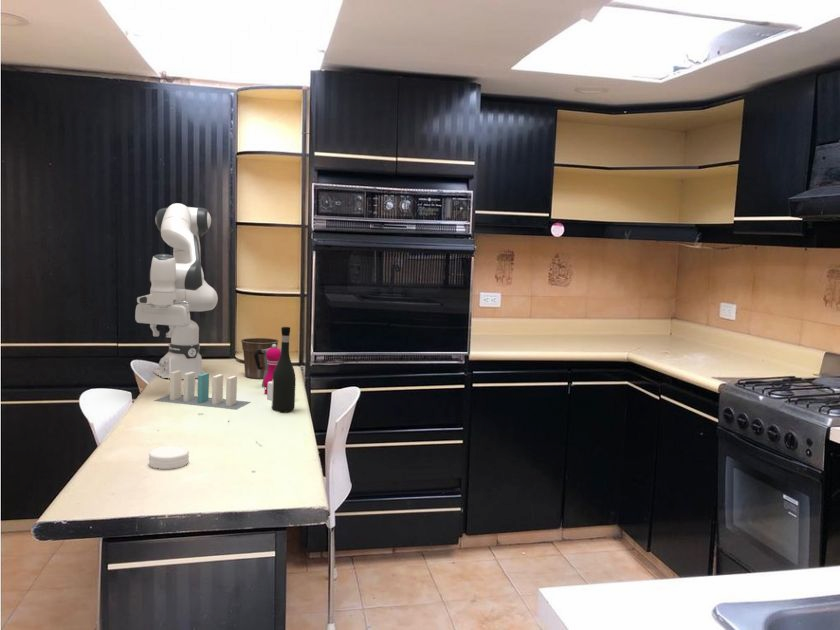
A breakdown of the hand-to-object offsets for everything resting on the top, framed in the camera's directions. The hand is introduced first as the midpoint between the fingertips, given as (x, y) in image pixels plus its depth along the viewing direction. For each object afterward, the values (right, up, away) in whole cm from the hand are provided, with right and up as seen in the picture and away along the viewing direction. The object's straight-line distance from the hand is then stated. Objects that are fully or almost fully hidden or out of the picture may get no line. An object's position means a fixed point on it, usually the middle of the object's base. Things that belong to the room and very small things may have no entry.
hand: (162, 336), depth 244 cm
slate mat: (+15, -24, -1) cm, 28 cm away
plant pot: (+23, -19, +50) cm, 58 cm away
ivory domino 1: (+4, -23, +1) cm, 23 cm away
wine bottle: (+45, -26, -5) cm, 52 cm away
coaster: (+27, -32, -66) cm, 78 cm away
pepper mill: (+36, -23, +18) cm, 47 cm away
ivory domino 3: (+20, -24, -2) cm, 32 cm away
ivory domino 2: (+10, -23, 0) cm, 25 cm away
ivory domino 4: (+26, -24, -3) cm, 35 cm away
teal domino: (+15, -24, -1) cm, 28 cm away
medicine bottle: (+41, -25, +9) cm, 49 cm away
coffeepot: (+32, -22, +32) cm, 50 cm away
